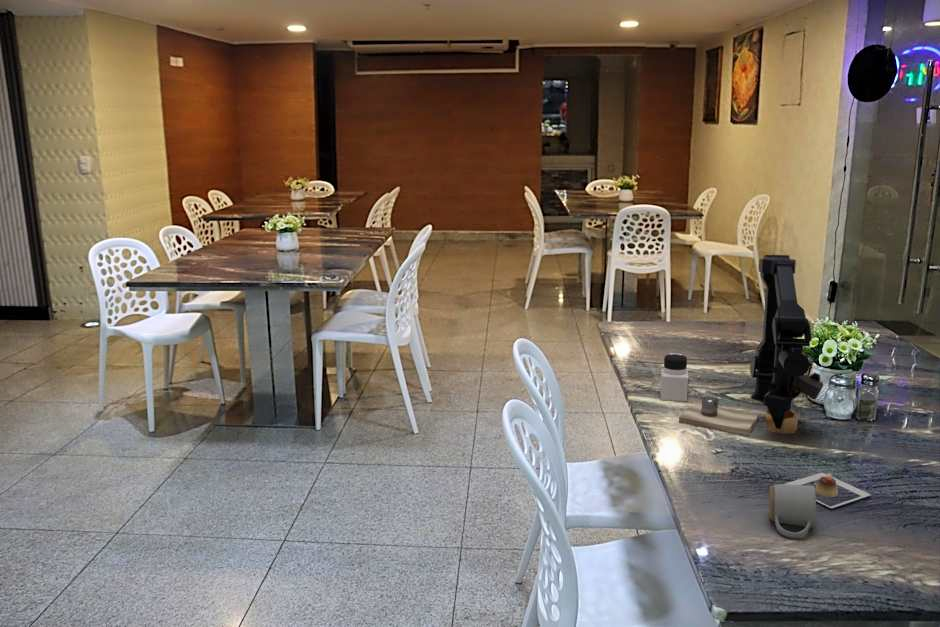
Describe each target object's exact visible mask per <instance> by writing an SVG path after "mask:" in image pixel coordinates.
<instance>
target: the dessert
mask: <svg viewBox="0 0 940 627" xmlns="http://www.w3.org/2000/svg"><path fill="white" fill-rule="evenodd" d="M815 481H817V484H816V486H815V492H816V495H820V496H822V497H827V498H835V497H838V495H839V491H838V486H839V487H841V488H843V489H845V490H848V491H850V492H852V493H854V494H856V495H858V497H855V498H852V499H849V500H846V501H843V502H840V503H837V504H835V505H831V506H830V505H829V504H826V503H824V502H822V501H820V500H818V499H816V503H819V504H821V505H823V506H824V507H827V508H828V509H834V508H837V507H840V506H843V505H847V504H849V503H852V502H855V501H858V500H861V499H864V498H867V497H870V496H872V494H871V493H868V492H867V491H864V490H862V489H859V488H858V487H855V486H853V485H851V484H849V483H846V482H844V481H843V480H839V479H838V478H835V477H834V476H833V474H832V473H830V472H827V473H824V472H819V473H815V474H813V475H812V474H811V475H808V476H806V477H803V478H799V479H796V480H792V481H790V482H786V483H785V484H787V485H805V484H808V483H812V482H815Z"/></svg>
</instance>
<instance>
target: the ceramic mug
mask: <svg viewBox="0 0 940 627" xmlns="http://www.w3.org/2000/svg"><path fill="white" fill-rule="evenodd" d="M815 488H816V486H815V485H809V484H807V485H805V484H802V485H787V484H786V483H778V484H771V485H770V486H769V492H768V494H769V495H768V498H769V499H768V515H769V516H768V517H769V519H770V520H771V521H773V522H774V523H775V526H776V527H775V528H776V530H777V531H778V532H779V533H780V534H781V535H782V536H784V537H786V538H789V539H802V538H804V537H805V536H806V535H807V534H808V533H809V531H810V528H815V525H816V519H817V518H816V516H817V514H816V513H817V502H816V500H817V496H816V495H817V493H816V492H815ZM781 524H785V525H786V524H787V525H793V526H799V527H804V529H802V530H800V531H797V532H794V531H793V532H792V531H789V530H786V529H785V528H783V527H782V525H781Z"/></svg>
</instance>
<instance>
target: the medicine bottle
mask: <svg viewBox="0 0 940 627" xmlns="http://www.w3.org/2000/svg"><path fill="white" fill-rule="evenodd" d="M687 365H688V358H687V356H686V355H683V354H680V353H669V354H666V355H665V356H664V358H663V367H662V368H661V369H660V384H659V395H660V400H661V401H670V402H671V401H673V402H686V401H687V402H688V397H689V383H690V382H689V381H690V376H689V372H688V369H687Z"/></svg>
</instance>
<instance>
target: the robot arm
mask: <svg viewBox="0 0 940 627" xmlns="http://www.w3.org/2000/svg"><path fill="white" fill-rule="evenodd" d="M796 264H797V260H796V259H794V258H792V259H791V257H790V255H789V254H764V255H763V257H762V258H759V260H758V272H759V273H760V280H761V281H762V282H763V284H764V286H765V296H764V311H763V312H764V314H763V326H762V327H763V328H762V340H761V342H760V343H759V344H758V345H757V346H756V348H755V354H754V355H753V357H752V359H751V362H750V365H749V373H750V375H751V377H752V379H753V378H755V383H754V384H755V385H754V392H753V393H752V394H751V396H750V398H751V399H753V398H755V400H759V399H760V401H763V405H762V406H766V408H767V411H768V410H769V412H770V414H771V417H772V419H773V422H774V424H775V427H776V428H777V429H781V426H782V423H783V420H784V417H785V413H786V411H787V410H792V408H793V407H794V401H795V400H794V399H795V398H797V397H799V396H800V395H801V394H803V395H805V396H807V397H809V398H810V399H812V400H817V398H818V396H820V395H819V394H820V393H821V390H822V389H823V387H824V386H825V384H824V382H823V381H822V380H821V374H820V373H817V372H812V373H811V374H810V375H809V374H807V373H808V372H809V369H810V365H811V363H810V361H809V358H808V356H807V355H806V353H804V351H803V349H804V347H810V345H811V341H812V339H813V337H812V329H811V323H810V322H809V319H808V318H807V317H806V312H805V310H804V308H803V307H802V306H800V304H799V303H798V298H797V290H796V284H795V277H794V274H796V267H797V266H796ZM803 337H804V338H803Z"/></svg>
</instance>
